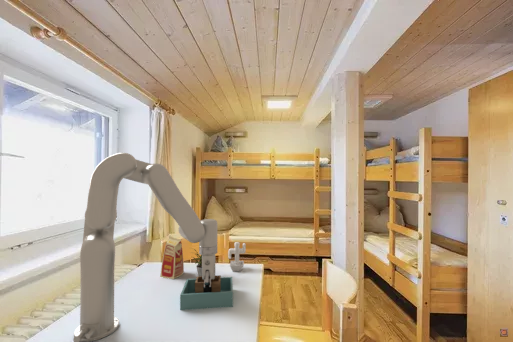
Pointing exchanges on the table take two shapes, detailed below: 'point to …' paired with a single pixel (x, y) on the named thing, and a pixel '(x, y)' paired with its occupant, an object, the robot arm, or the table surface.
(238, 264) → the figurine
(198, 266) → the house plant
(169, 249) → the milk carton
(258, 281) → the table surface
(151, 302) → the table surface
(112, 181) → the robot arm
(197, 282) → the walnut crate
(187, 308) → the teal crate
